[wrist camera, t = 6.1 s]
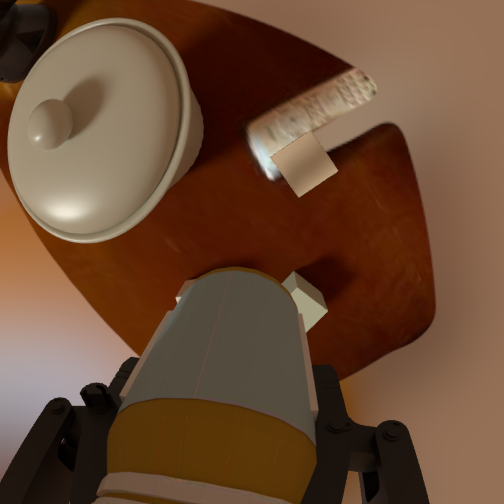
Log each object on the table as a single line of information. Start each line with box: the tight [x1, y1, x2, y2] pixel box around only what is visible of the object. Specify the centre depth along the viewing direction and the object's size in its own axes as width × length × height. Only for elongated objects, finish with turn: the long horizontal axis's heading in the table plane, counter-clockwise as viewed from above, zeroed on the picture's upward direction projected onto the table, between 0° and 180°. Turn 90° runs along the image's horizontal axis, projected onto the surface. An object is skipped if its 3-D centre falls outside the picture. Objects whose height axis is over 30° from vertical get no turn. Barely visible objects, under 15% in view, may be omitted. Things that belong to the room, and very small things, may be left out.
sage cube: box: [282, 271, 328, 332], centre depth 36 cm, size 5×5×5 cm
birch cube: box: [270, 131, 338, 197], centre depth 30 cm, size 5×5×5 cm
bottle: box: [92, 267, 317, 504], centre depth 10 cm, size 7×7×15 cm
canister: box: [8, 18, 204, 243], centre depth 22 cm, size 18×18×21 cm
